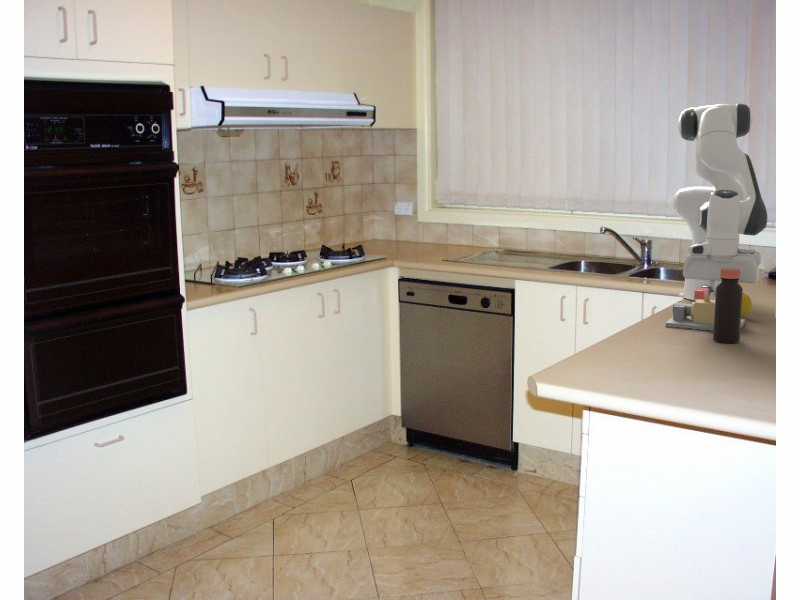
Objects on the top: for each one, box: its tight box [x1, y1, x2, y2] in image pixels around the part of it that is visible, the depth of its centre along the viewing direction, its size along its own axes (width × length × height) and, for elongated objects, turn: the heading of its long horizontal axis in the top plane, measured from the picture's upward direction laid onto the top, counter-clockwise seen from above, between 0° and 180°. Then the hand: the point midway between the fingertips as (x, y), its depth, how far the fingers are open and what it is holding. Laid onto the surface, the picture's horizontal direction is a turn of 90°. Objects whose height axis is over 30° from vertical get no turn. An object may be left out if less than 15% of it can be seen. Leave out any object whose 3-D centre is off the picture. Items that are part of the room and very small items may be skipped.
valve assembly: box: [665, 293, 746, 332], centre depth 251 cm, size 20×16×10 cm
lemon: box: [741, 292, 753, 319], centre depth 261 cm, size 6×6×8 cm
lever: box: [694, 285, 714, 300], centre depth 246 cm, size 4×14×2 cm, turn 150°
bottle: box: [712, 268, 744, 344], centre depth 230 cm, size 7×7×20 cm
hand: (719, 296), depth 239 cm, fingers closed
